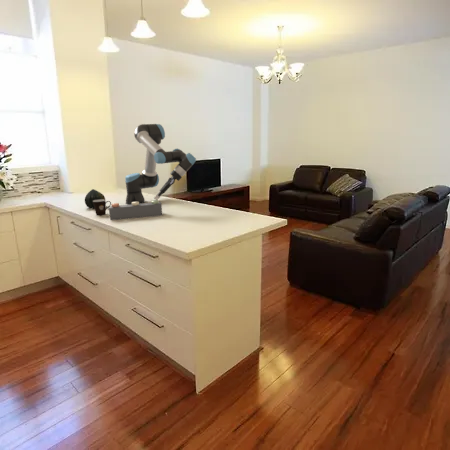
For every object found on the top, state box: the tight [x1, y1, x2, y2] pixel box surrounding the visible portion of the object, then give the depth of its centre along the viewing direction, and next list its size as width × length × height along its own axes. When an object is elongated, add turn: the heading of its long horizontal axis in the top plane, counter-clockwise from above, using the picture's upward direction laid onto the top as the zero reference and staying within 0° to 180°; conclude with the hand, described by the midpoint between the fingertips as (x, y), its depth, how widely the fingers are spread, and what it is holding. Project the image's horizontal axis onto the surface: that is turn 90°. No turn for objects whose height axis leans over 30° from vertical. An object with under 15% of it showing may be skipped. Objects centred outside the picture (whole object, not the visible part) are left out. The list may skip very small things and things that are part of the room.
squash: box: [84, 188, 106, 209], centre depth 264 cm, size 14×15×15 cm
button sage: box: [150, 199, 160, 204], centre depth 232 cm, size 5×5×5 cm
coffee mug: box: [93, 199, 112, 216], centre depth 241 cm, size 12×9×10 cm
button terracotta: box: [110, 202, 120, 207], centre depth 227 cm, size 5×5×5 cm
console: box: [108, 201, 163, 221], centre depth 230 cm, size 34×7×8 cm, turn 103°
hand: (155, 199), depth 231 cm, fingers closed
